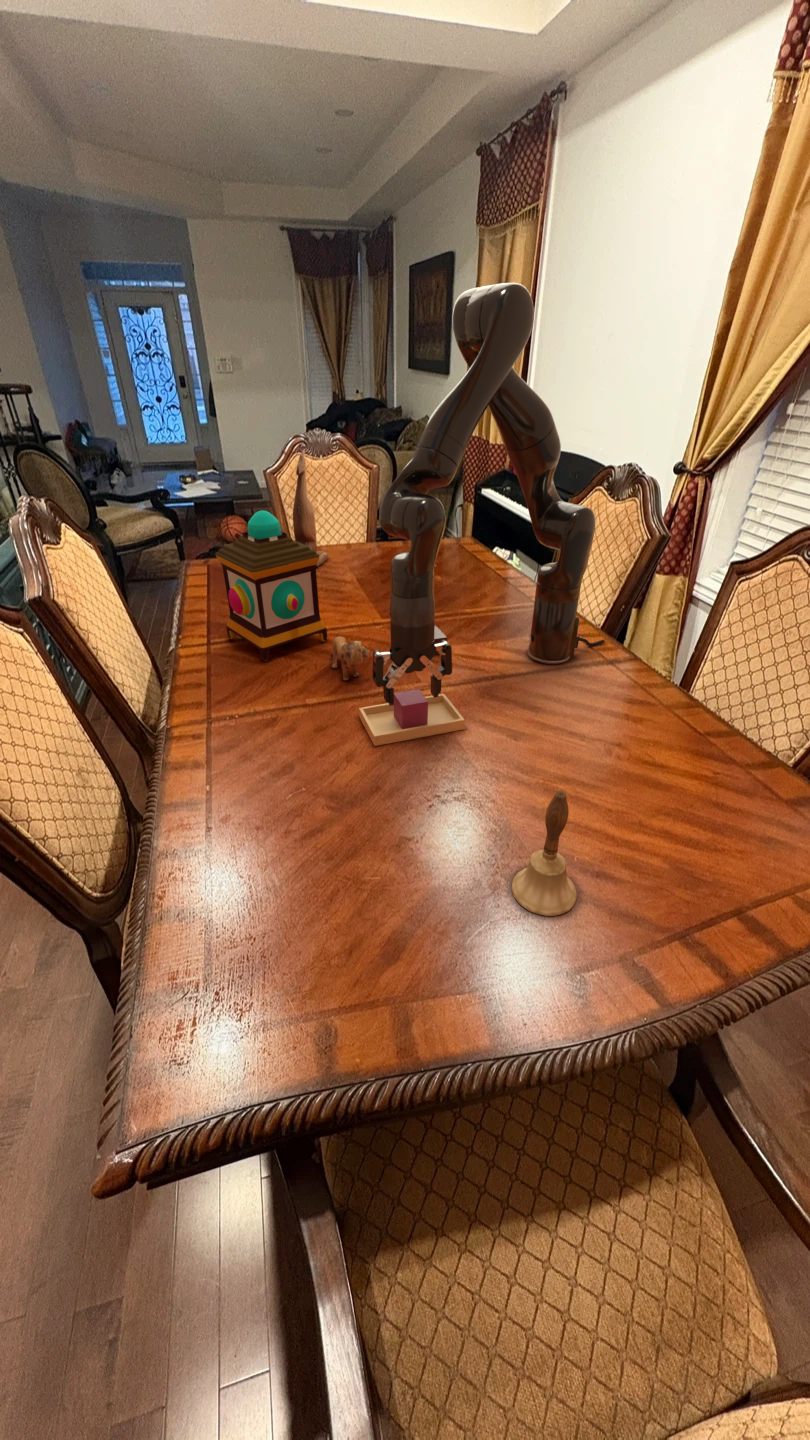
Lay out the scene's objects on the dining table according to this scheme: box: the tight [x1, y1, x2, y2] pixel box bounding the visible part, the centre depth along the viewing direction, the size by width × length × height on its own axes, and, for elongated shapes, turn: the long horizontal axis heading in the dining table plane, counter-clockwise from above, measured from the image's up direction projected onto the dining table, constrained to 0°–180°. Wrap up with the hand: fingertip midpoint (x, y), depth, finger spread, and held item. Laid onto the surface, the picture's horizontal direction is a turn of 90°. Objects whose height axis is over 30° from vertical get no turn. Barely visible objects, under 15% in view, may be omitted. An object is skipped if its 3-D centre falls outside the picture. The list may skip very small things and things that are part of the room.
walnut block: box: [434, 625, 448, 656], centre depth 140 cm, size 7×7×4 cm
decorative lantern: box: [215, 510, 328, 662], centre depth 137 cm, size 20×20×30 cm
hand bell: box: [511, 790, 578, 917], centre depth 75 cm, size 8×8×16 cm
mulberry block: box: [394, 688, 428, 729], centre depth 112 cm, size 5×5×5 cm
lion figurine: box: [329, 636, 371, 681], centre depth 129 cm, size 15×5×9 cm, turn 33°
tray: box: [358, 693, 466, 747], centre depth 113 cm, size 17×10×2 cm, turn 109°
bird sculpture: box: [292, 454, 329, 568], centre depth 187 cm, size 11×12×32 cm
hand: (412, 699), depth 111 cm, fingers open, 8 cm apart
